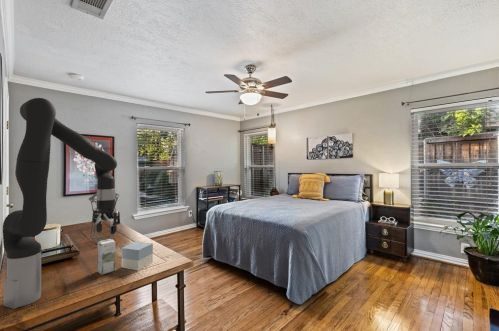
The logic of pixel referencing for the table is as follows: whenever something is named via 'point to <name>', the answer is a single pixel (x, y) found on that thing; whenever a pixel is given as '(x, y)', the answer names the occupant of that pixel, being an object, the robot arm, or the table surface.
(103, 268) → the syrup box
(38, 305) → the table surface
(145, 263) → the tower base block
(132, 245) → the tower top block
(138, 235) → the table surface
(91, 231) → the geometric lantern
